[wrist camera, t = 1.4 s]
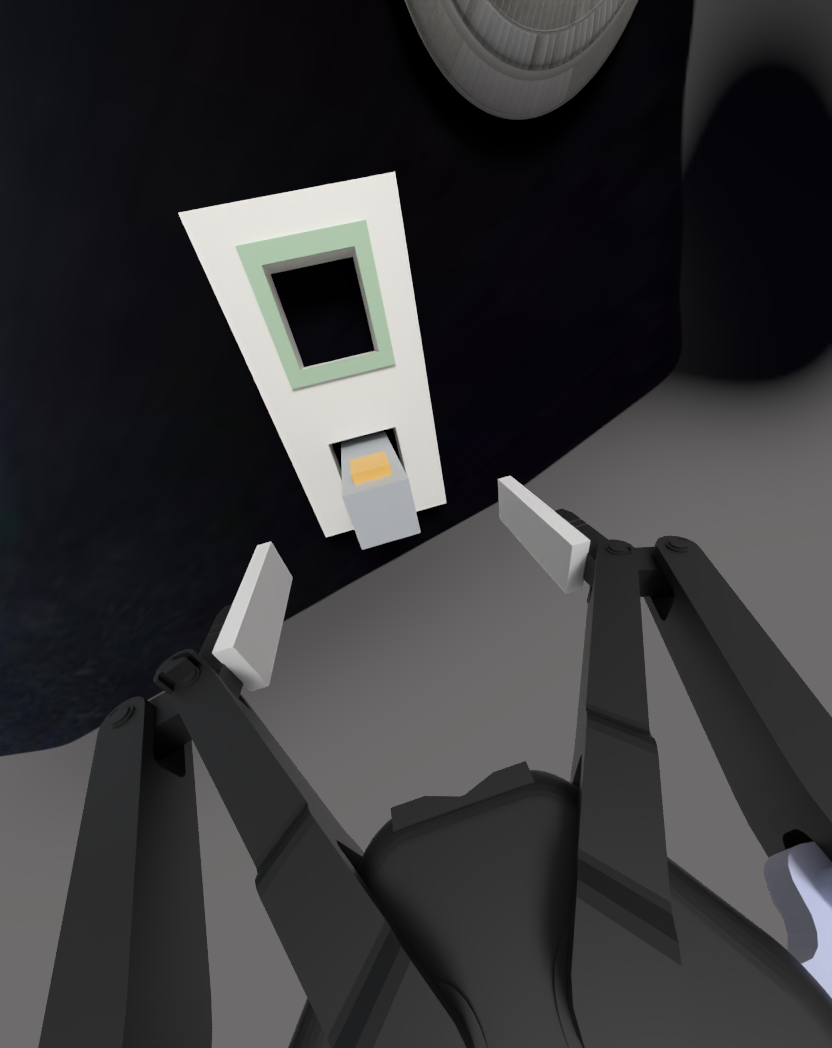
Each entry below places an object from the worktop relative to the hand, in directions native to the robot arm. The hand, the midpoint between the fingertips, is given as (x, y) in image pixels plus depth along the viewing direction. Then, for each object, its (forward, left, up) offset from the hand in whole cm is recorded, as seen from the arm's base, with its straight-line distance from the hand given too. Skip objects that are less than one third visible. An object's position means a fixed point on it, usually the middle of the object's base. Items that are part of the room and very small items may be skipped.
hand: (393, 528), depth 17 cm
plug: (0, 0, -13) cm, 13 cm away
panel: (0, +6, -13) cm, 14 cm away
